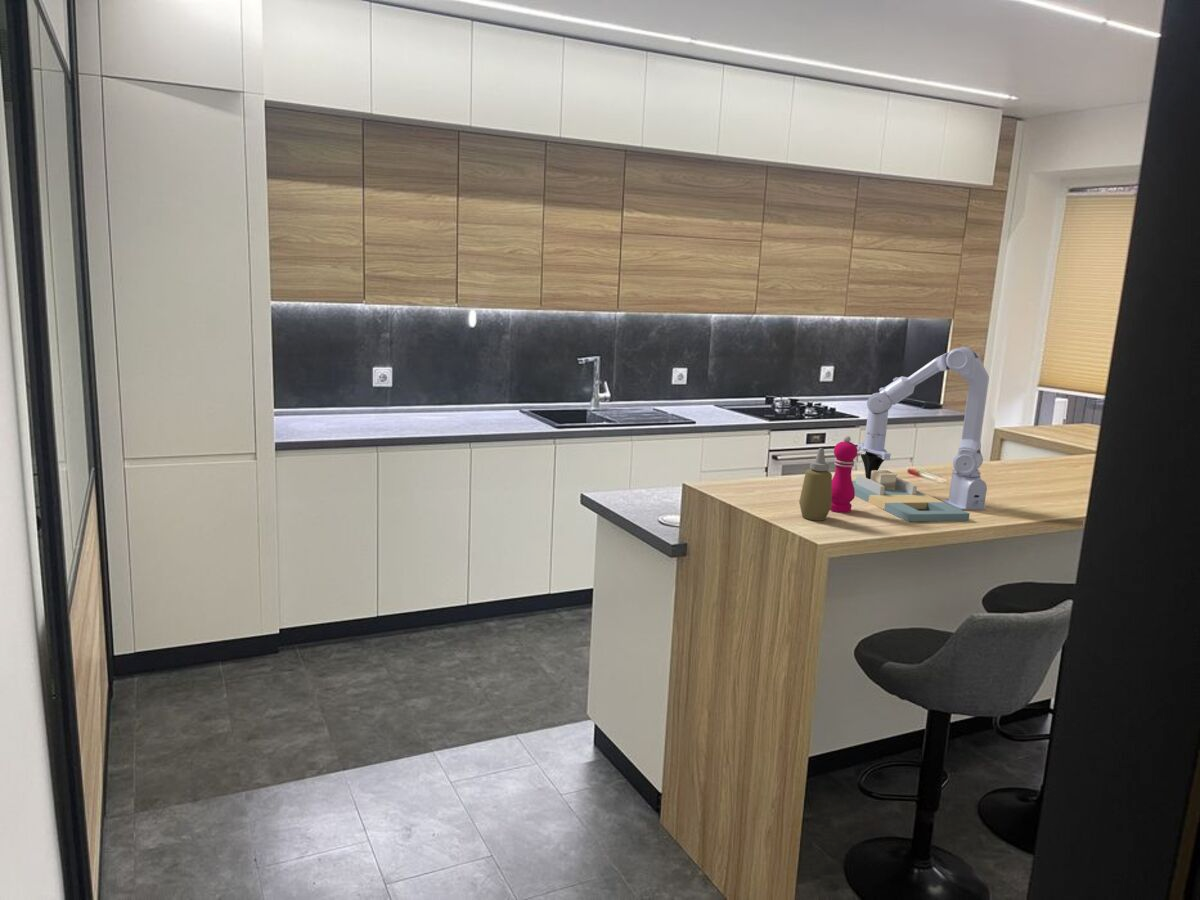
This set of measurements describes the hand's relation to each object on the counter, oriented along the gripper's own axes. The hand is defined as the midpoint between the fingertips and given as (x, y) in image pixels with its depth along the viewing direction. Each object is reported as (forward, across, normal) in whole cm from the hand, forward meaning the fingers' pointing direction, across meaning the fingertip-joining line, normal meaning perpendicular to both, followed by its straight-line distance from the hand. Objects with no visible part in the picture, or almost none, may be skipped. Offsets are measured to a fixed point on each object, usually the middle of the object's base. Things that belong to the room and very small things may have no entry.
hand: (870, 478), depth 256 cm
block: (+1, +7, 0) cm, 7 cm away
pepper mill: (+3, +22, -22) cm, 31 cm away
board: (+3, +16, 0) cm, 16 cm away
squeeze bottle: (+3, +29, -33) cm, 44 cm away
